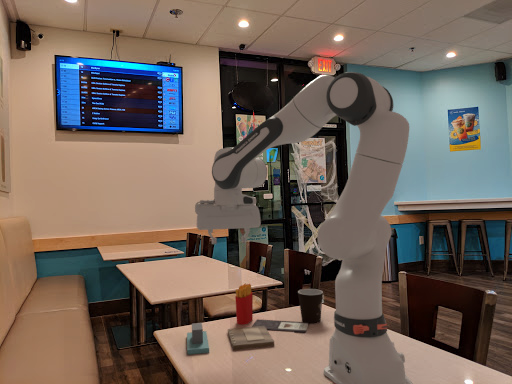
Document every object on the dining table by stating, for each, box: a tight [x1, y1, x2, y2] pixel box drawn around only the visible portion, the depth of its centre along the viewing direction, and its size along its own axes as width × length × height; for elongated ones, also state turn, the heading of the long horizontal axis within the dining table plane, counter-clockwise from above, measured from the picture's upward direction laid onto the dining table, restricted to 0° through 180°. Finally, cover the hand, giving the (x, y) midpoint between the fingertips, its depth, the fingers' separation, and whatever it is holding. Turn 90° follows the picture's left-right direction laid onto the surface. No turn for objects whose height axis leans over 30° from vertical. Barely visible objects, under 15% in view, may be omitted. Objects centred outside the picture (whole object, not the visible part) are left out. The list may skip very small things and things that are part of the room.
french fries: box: [234, 283, 254, 326], centre depth 133 cm, size 9×4×13 cm, turn 156°
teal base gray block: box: [186, 322, 210, 355], centre depth 113 cm, size 14×6×5 cm, turn 11°
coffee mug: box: [297, 288, 324, 325], centre depth 134 cm, size 12×9×10 cm
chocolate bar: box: [251, 318, 309, 334], centre depth 127 cm, size 9×1×18 cm
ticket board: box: [227, 326, 275, 351], centre depth 116 cm, size 14×12×2 cm
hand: (229, 243), depth 120 cm, fingers open, 8 cm apart
